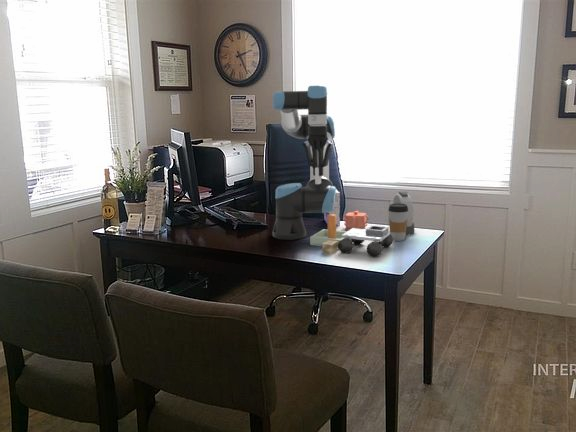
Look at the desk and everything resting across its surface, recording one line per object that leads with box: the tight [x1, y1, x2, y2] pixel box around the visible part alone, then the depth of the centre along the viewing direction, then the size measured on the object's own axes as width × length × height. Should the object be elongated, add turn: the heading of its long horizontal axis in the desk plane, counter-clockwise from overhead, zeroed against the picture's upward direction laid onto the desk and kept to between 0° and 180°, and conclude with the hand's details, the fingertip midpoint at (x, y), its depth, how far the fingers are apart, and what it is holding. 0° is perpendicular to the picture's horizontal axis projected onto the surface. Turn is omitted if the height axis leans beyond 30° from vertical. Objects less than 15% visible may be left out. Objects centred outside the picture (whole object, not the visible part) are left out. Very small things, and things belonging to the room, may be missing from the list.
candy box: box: [323, 188, 341, 227], centre depth 267 cm, size 14×6×16 cm, turn 5°
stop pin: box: [327, 214, 337, 239], centre depth 233 cm, size 4×4×11 cm
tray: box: [309, 228, 351, 247], centre depth 234 cm, size 14×14×4 cm
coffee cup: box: [388, 203, 408, 242], centre depth 235 cm, size 8×8×15 cm
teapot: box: [342, 210, 369, 231], centre depth 255 cm, size 12×15×8 cm
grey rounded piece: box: [392, 191, 415, 236], centre depth 248 cm, size 16×10×18 cm, turn 4°
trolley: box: [338, 224, 394, 258], centre depth 221 cm, size 18×16×9 cm
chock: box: [322, 240, 339, 255], centre depth 220 cm, size 4×6×4 cm, turn 151°
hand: (318, 183), depth 224 cm, fingers closed
